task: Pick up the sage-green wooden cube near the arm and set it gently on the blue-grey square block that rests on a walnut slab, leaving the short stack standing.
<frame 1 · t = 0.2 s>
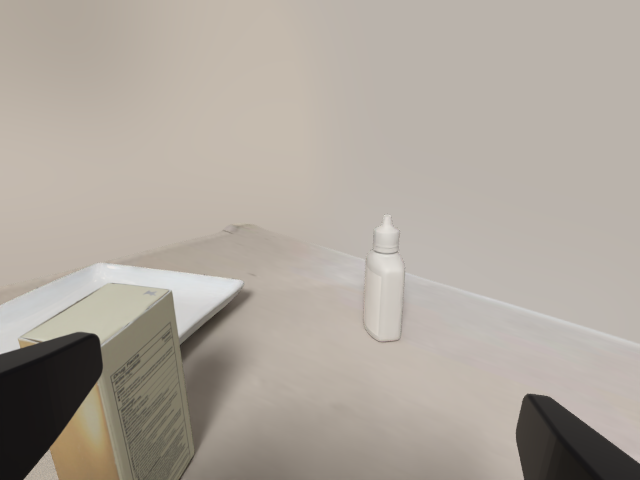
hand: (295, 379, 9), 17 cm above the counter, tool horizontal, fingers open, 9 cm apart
eye dropper bottle: (381, 330, 42), on the counter
salad plate: (104, 341, 41), on the counter
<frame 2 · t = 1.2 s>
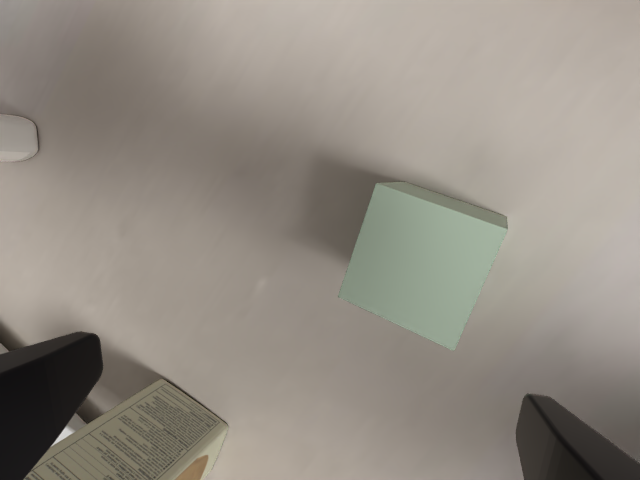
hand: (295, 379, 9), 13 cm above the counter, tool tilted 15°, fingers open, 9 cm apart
eye dropper bottle: (20, 139, 32), on the counter
skincare box: (191, 422, 29), on the counter
salad plate: (39, 449, 38), on the counter
stack block: (434, 246, 20), on the counter
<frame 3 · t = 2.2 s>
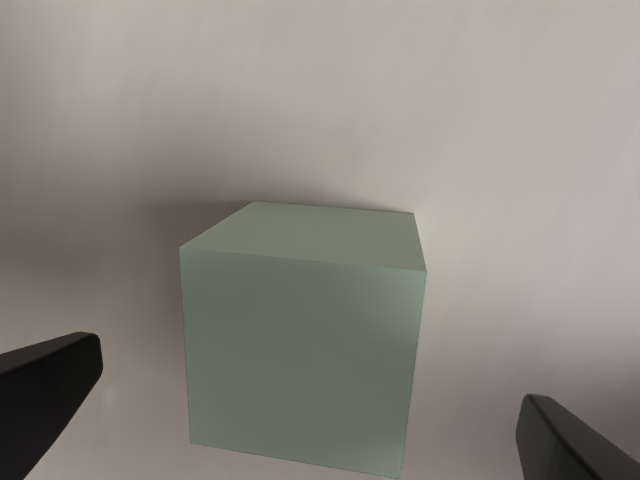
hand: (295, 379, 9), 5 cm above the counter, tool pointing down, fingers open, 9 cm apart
stack block: (328, 280, 14), on the counter
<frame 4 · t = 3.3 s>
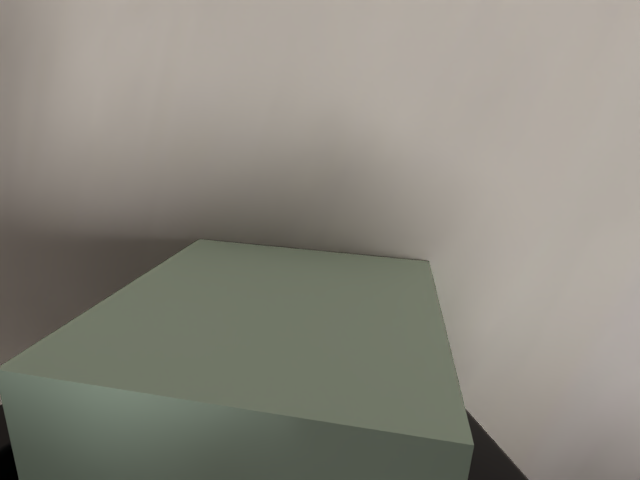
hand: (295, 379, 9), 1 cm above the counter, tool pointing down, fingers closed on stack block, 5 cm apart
stack block: (305, 352, 10), on the counter, touching gripper
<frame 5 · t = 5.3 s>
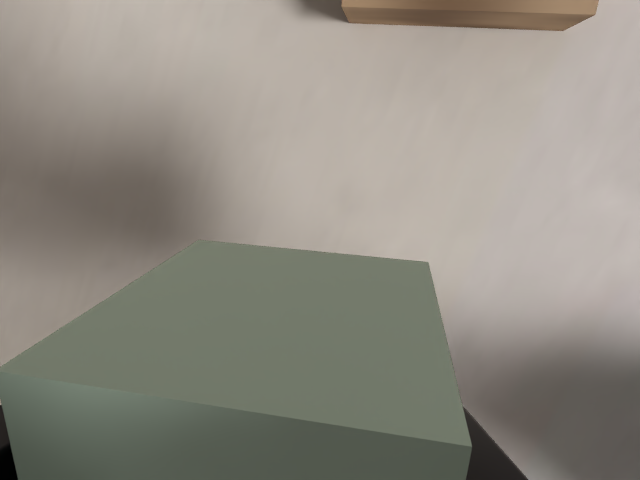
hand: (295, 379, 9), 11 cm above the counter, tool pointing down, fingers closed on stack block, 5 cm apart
stack block: (304, 352, 10), point 10 cm above the counter, touching gripper
when the fingers open (8 cm above the counter, at t = 7.2 s): stack block drops 2 cm, point 6 cm above the counter.
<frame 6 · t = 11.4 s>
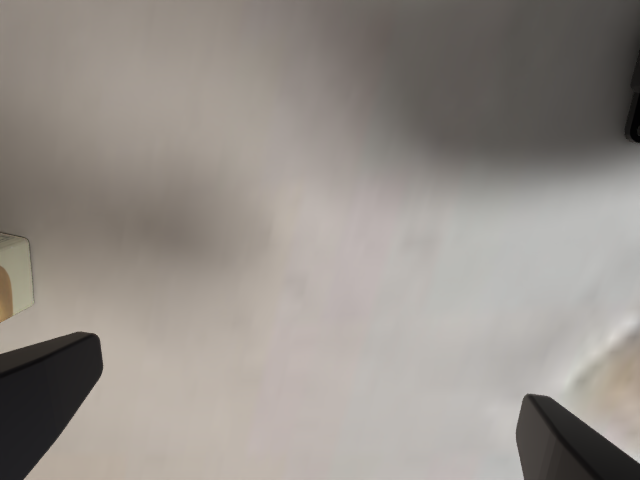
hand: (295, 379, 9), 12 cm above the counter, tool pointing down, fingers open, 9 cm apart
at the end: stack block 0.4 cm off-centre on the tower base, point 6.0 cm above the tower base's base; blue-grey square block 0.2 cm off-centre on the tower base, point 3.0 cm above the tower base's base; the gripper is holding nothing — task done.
